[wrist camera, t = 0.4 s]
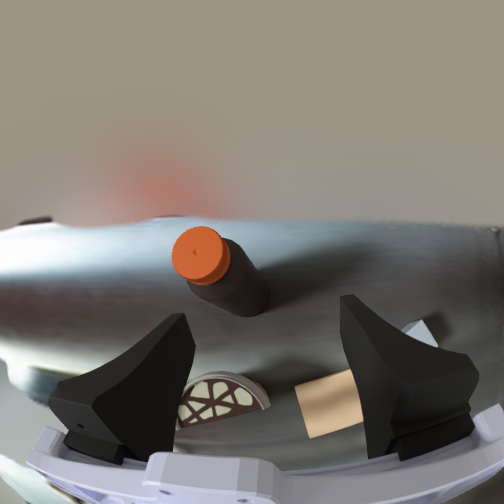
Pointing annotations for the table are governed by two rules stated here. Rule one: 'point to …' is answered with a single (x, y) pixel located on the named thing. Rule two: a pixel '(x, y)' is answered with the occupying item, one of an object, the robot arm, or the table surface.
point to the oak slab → (329, 403)
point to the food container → (219, 398)
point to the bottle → (220, 272)
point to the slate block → (419, 332)
